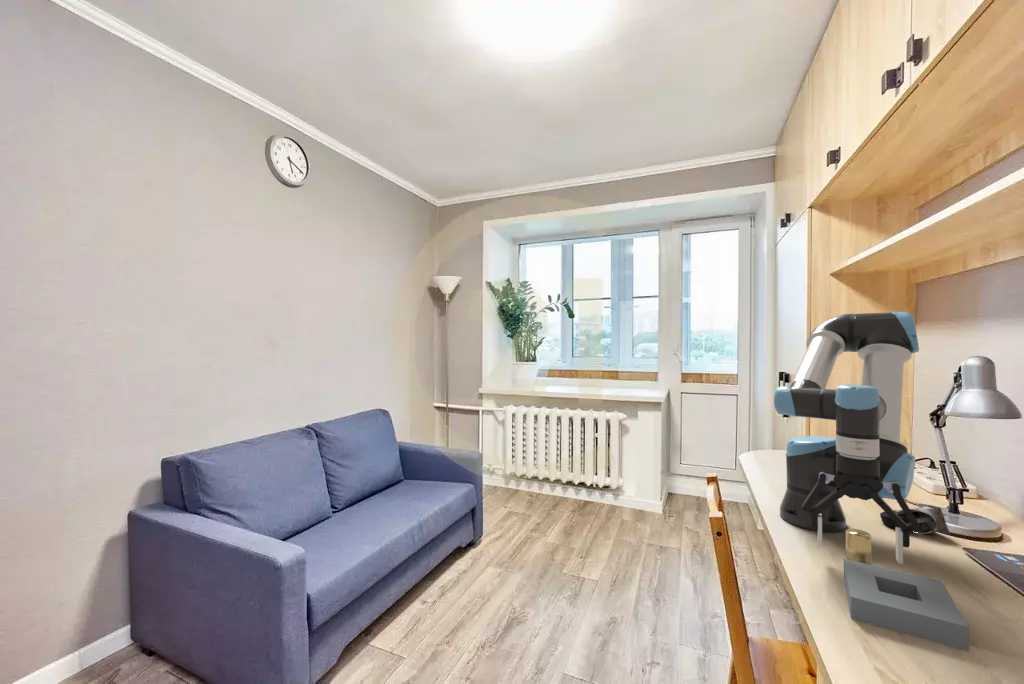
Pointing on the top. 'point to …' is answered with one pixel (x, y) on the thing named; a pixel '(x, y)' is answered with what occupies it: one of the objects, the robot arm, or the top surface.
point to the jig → (904, 604)
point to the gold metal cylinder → (858, 546)
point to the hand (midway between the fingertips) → (858, 552)
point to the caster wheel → (921, 519)
